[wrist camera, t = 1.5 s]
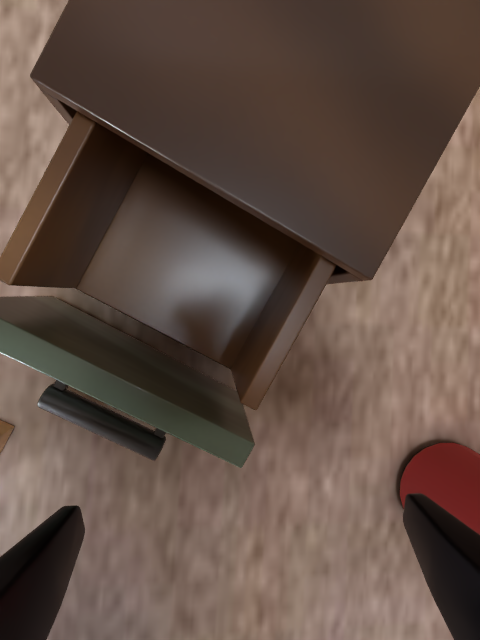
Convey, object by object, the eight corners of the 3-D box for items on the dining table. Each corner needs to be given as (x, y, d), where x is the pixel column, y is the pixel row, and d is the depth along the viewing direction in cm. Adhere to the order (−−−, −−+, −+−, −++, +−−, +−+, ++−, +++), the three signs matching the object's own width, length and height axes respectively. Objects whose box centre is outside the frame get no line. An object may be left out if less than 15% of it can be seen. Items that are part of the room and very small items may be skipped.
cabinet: (304, 286, 21) (372, 280, 12) (110, 175, 19) (28, 75, 11) (411, 92, 21) (561, -59, 12) (224, -38, 19) (236, -326, 10)
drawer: (199, 463, 20) (194, 554, 13) (10, 374, 19) (-111, 422, 12) (332, 223, 20) (400, 183, 13) (149, 111, 18) (112, -5, 11)
